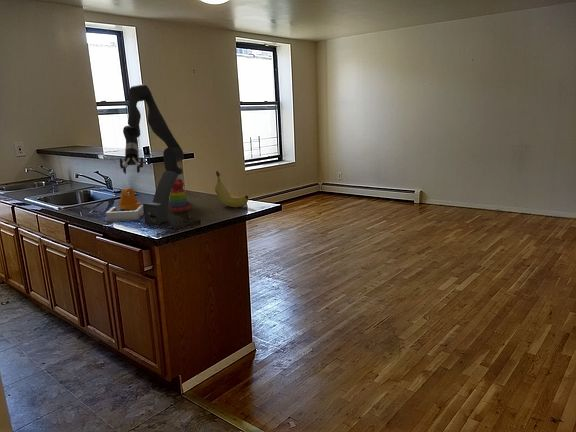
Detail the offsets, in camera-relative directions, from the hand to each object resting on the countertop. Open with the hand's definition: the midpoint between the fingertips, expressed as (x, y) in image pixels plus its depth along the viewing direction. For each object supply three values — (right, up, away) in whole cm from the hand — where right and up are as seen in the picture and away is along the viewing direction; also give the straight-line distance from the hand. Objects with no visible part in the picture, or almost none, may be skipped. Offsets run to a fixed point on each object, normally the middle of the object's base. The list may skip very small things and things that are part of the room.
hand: (131, 172), depth 269 cm
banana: (+64, -21, -16) cm, 69 cm away
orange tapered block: (+4, -23, -13) cm, 26 cm away
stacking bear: (+34, -23, -20) cm, 46 cm away
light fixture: (+32, -29, -42) cm, 60 cm away
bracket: (+9, -27, -32) cm, 43 cm away
